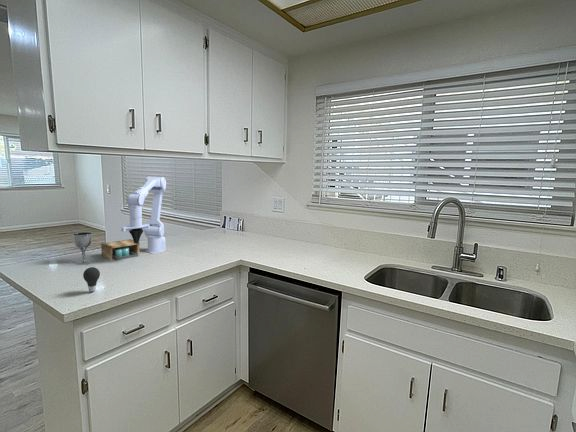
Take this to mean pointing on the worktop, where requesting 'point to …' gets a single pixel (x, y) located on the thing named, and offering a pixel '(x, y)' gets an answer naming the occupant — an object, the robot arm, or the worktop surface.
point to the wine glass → (82, 244)
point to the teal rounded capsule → (118, 252)
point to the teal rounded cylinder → (125, 252)
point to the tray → (125, 256)
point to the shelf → (119, 247)
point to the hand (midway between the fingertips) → (136, 243)
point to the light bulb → (91, 277)
